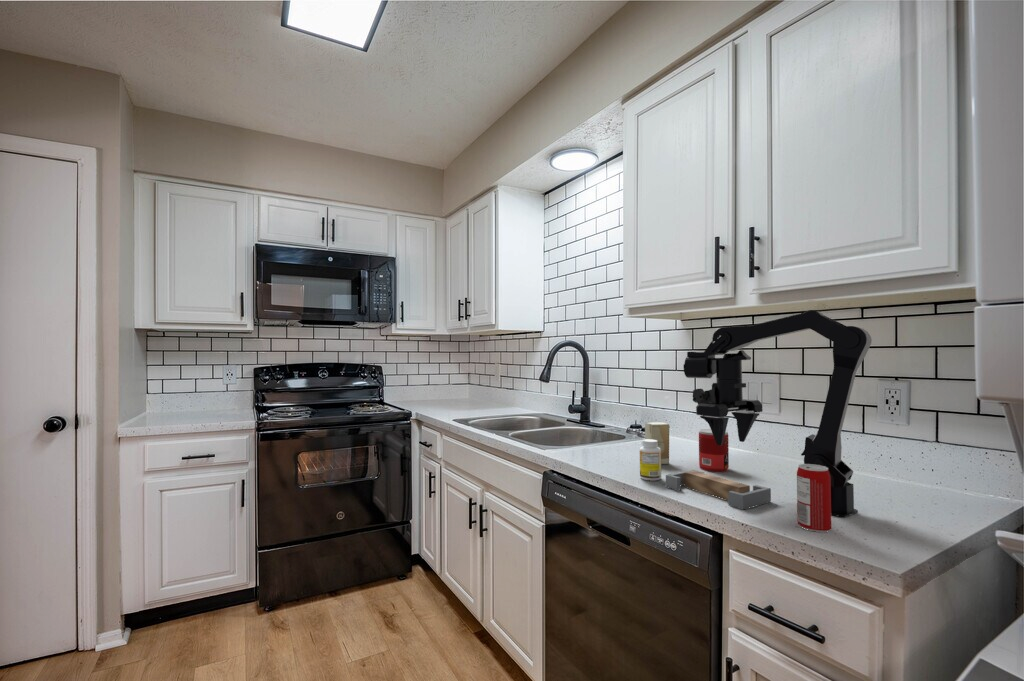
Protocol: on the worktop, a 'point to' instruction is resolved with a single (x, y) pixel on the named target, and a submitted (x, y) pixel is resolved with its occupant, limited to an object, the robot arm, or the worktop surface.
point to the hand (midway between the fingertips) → (730, 443)
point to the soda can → (814, 497)
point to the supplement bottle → (650, 460)
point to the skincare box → (659, 438)
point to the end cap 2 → (750, 497)
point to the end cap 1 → (676, 480)
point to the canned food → (713, 452)
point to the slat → (713, 484)
